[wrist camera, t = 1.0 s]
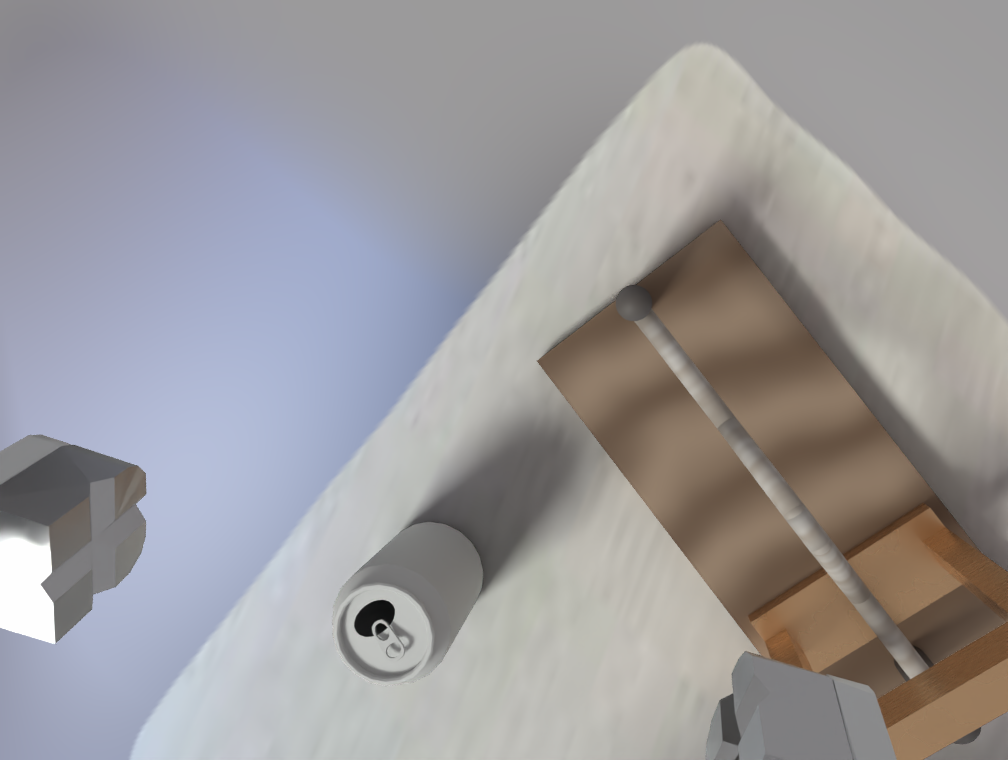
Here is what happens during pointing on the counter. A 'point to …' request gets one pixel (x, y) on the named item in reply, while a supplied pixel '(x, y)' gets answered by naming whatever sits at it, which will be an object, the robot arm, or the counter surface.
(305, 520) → the counter surface
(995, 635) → the wooden frame
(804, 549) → the buzz board
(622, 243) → the counter surface
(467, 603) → the can
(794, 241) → the counter surface
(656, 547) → the counter surface
